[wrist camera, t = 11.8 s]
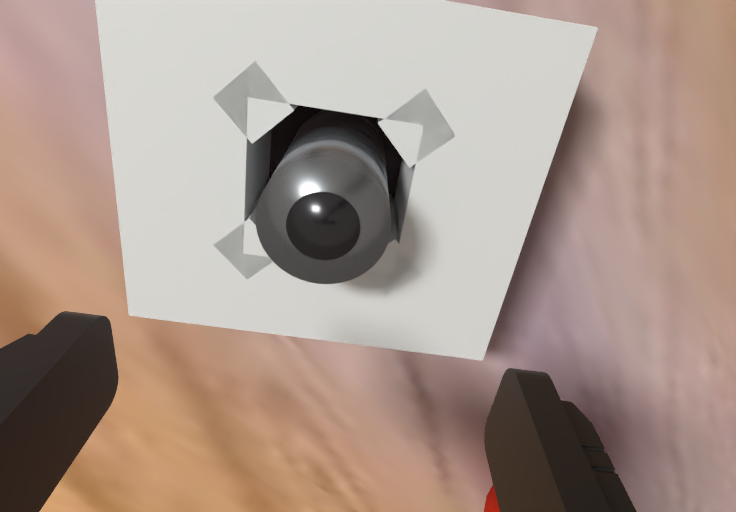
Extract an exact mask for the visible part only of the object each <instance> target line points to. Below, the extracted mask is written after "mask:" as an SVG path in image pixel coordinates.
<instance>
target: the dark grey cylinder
mask: <svg viewBox="0 0 736 512" xmlns="http://www.w3.org/2000/svg"><path fill="white" fill-rule="evenodd" d="M256 229H257V234H258V237H259V240H260V243H261V245H262V247H263V249H264V250H265V252H266V253H267V255H268V256H269V257H270V259H271V260H272V261H273V262H274V263H275V264H276V265H277V266H278V267H279V268H281V269H282V270H283V271H285V272H286V273H288V274H290V275H292V276H293V277H296V278H298V279H300V280H304V281H307V282H311V283H316V284H336V283H342V282H346V281H349V280H352V279H354V278H357V277H359V276H360V275H362V274H364V273H365V272H367V271H368V270H370V269H371V268H372V267H373V266H374V265H375V264H376V263H377V262H378V260H379V259H380V258H381V257H382V255H383V253H384V252H385V250H386V247H387V245H388V242H389V238H390V233H391V215H390V204H389V193H388V182H387V171H386V160H385V150H384V145H383V141H382V139H381V136H380V134H379V133H378V131H377V129H376V128H375V127H374V126H373V124H372V123H371V122H370V121H368V120H367V119H366V118H365V117H363V116H362V115H357V114H351V113H345V112H338V111H332V110H325V111H322V112H319V113H317V114H315V115H313V116H312V117H310V118H309V119H308V120H307V121H305V122H304V124H303V125H302V126H301V127H300V129H299V130H298V132H297V134H296V135H295V137H294V139H293V141H292V142H291V144H290V146H289V147H288V149H287V151H286V153H285V154H284V156H283V158H282V160H281V161H280V163H279V165H278V166H277V168H276V170H275V172H274V173H273V175H272V177H271V178H270V180H269V182H268V184H267V185H266V187H265V189H264V190H263V192H262V194H261V196H260V199H259V201H258V205H257V209H256Z"/></svg>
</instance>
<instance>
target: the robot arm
mask: <svg viewBox="0 0 736 512" xmlns="http://www.w3.org/2000/svg"><path fill="white" fill-rule="evenodd" d="M117 385H118V369H117V363H116V356H115V349H114V343H113V336H112V329H111V324H110V321H109V319H108V318H107V317H105V316H99V315H91V314H84V313H76V312H68V311H64V312H61V313H60V314H58V315H57V316H56V317H55V318H54V319H53V320H51V321H50V322H49V323H48V324H47V325H46V326H45V327H44V328H43V329H42V330H41V331H40V332H39V333H38V334H37V335H33V334H27V335H25V336H23V337H21V338H20V339H18V340H16V341H14V342H12V343H10V344H8V345H6V346H5V347H3V348H1V349H0V512H39V511H40V510H41V508H42V507H43V505H44V504H45V502H46V501H47V499H48V498H49V496H50V495H51V493H52V492H53V490H54V489H55V487H56V486H57V484H58V483H59V481H60V480H61V478H62V477H63V475H64V474H65V472H66V471H67V469H68V468H69V467H70V465H71V464H72V462H73V461H74V459H75V458H76V456H77V455H78V453H79V452H80V450H81V449H82V447H83V446H84V444H85V443H86V441H87V440H88V438H89V437H90V435H91V434H92V432H93V431H94V429H95V428H96V426H97V425H98V423H99V422H100V420H101V419H102V417H103V416H104V414H105V413H106V411H107V410H108V408H109V407H110V405H111V403H112V401H113V399H114V396H115V394H116V390H117ZM485 450H486V455H487V459H488V463H489V468H490V472H491V476H492V480H493V485H494V489H495V493H496V497H497V502H498V506H499V510H500V512H636V510H635V508H634V506H633V504H632V502H631V500H630V498H629V496H628V494H627V492H626V490H625V488H624V486H623V484H622V482H621V480H620V478H619V476H618V474H615V472H614V469H615V468H614V466H613V464H612V462H611V460H610V458H609V456H608V454H607V453H605V452H604V446H603V444H602V442H601V440H600V438H599V436H598V434H597V432H596V430H595V429H594V427H593V425H592V423H591V422H590V421H589V420H588V419H587V418H586V417H585V416H584V415H583V414H582V412H581V411H580V410H579V409H578V408H577V407H576V406H575V405H574V404H573V403H572V402H568V401H561V400H560V397H559V395H558V393H557V391H556V389H555V386H554V384H553V382H552V380H551V378H550V376H549V375H548V374H547V373H544V372H536V371H528V370H520V369H512V368H509V369H507V370H506V371H505V373H504V375H503V378H502V380H501V383H500V386H499V389H498V391H497V394H496V397H495V399H494V402H493V405H492V408H491V410H490V413H489V416H488V419H487V422H486V427H485Z"/></svg>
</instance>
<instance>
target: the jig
mask: <svg viewBox="0 0 736 512" xmlns="http://www.w3.org/2000/svg"><path fill="white" fill-rule="evenodd" d="M95 4H96V14H97V23H98V32H99V41H100V51H101V60H102V69H103V79H104V88H105V97H106V107H107V116H108V125H109V134H110V144H111V153H112V162H113V172H114V181H115V190H116V200H117V209H118V218H119V227H120V237H121V246H122V255H123V265H124V274H125V283H126V293H127V302H128V311H129V316H136V317H144V318H152V319H160V320H168V321H175V322H183V323H191V324H199V325H207V326H215V327H223V328H230V329H238V330H246V331H254V332H262V333H270V334H277V335H285V336H293V337H301V338H309V339H317V340H324V341H332V342H340V343H348V344H356V345H364V346H372V347H379V348H387V349H395V350H403V351H411V352H419V353H426V354H434V355H442V356H450V357H458V358H466V359H473V360H481V361H483V358H484V356H485V353H486V350H487V347H488V344H489V341H490V338H491V335H492V332H493V330H494V327H495V324H496V321H497V318H498V315H499V312H500V309H501V306H502V304H503V301H504V298H505V295H506V292H507V289H508V286H509V283H510V281H511V278H512V275H513V272H514V269H515V266H516V263H517V260H518V257H519V255H520V252H521V249H522V246H523V243H524V240H525V237H526V234H527V231H528V229H529V226H530V223H531V220H532V217H533V214H534V211H535V208H536V206H537V203H538V200H539V197H540V194H541V191H542V188H543V185H544V182H545V180H546V177H547V174H548V171H549V168H550V165H551V162H552V159H553V157H554V154H555V151H556V148H557V145H558V142H559V139H560V136H561V133H562V131H563V128H564V125H565V122H566V119H567V116H568V113H569V110H570V107H571V105H572V102H573V99H574V96H575V93H576V90H577V87H578V84H579V82H580V79H581V76H582V73H583V70H584V67H585V64H586V61H587V58H588V56H589V53H590V50H591V47H592V44H593V41H594V38H595V35H596V33H597V30H598V27H593V26H587V25H582V24H576V23H570V22H565V21H559V20H553V19H548V18H542V17H536V16H531V15H525V14H519V13H513V12H508V11H502V10H496V9H491V8H485V7H479V6H474V5H468V4H462V3H457V2H451V1H445V0H95ZM298 105H300V106H307V107H313V108H319V109H326V110H332V111H338V112H345V113H351V114H357V115H363V116H370V117H376V118H378V124H379V126H380V127H381V129H382V130H383V131H384V133H385V134H386V136H387V137H388V138H389V140H390V141H391V143H392V144H393V145H394V147H395V148H396V150H397V151H398V152H399V154H400V155H401V157H402V161H401V167H400V172H399V177H398V182H397V187H396V193H395V198H393V196H392V195H390V196H389V204H390V215H391V233H390V238H389V242H388V245H387V247H386V250H385V252H384V253H383V255H382V257H381V258H380V259H379V260H378V262H377V263H376V264H375V265H374V266H373V267H372V268H371V269H370V270H368V271H367V272H365V273H364V274H362V275H360V276H359V277H357V278H354V279H352V280H349V281H346V282H342V283H336V284H316V283H311V282H307V281H304V280H300V279H298V278H296V277H293V276H292V275H290V274H288V273H286V272H285V271H283V270H282V269H281V268H279V267H278V266H277V265H276V264H275V263H274V262H273V261H272V260H271V259H270V257H269V256H268V255H267V253H266V252H265V250H264V249H263V247H262V245H261V243H260V240H259V237H258V234H257V229H256V209H257V205H258V201H259V199H260V196H261V194H262V192H263V190H264V189H265V187H266V185H267V184H268V182H269V173H270V155H271V137H272V128H273V127H274V126H275V125H277V124H278V123H279V122H280V121H282V120H283V119H284V118H285V117H287V116H288V115H289V114H290V113H292V112H293V111H294V110H295V109H296V107H297V106H298Z"/></svg>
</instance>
